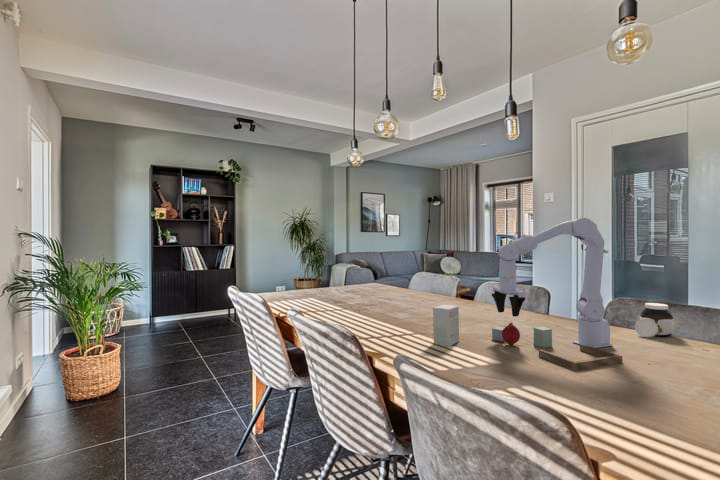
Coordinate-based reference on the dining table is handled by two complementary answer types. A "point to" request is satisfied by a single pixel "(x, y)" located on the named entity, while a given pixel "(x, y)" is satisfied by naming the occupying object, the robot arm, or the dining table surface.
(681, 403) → the dining table surface
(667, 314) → the spread jar
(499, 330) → the light gray block
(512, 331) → the red round fruit
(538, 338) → the sage block
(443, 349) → the dining table surface
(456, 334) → the small box
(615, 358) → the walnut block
